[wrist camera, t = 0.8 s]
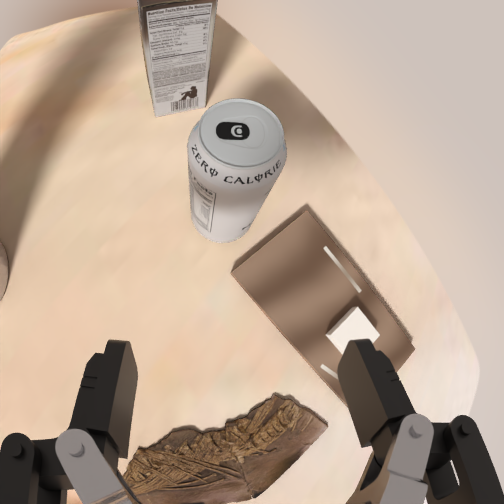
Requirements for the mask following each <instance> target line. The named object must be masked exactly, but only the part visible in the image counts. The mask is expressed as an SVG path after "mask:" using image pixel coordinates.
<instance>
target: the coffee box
mask: <svg viewBox="0 0 504 504" xmlns="http://www.w3.org/2000/svg"><path fill="white" fill-rule="evenodd" d="M217 1H218V0H137V2H138V12H139V22H140V31H141V39H142V47H143V54H144V61H145V67H146V72H147V78H148V83H149V88H150V93H151V98H152V103H153V108H154V113H155V117H160V116H164V115H169V114H174V113H179V112H183V111H189V110H194V109H199V108H204V107H206V100H207V88H208V78H209V69H210V60H211V51H212V42H213V34H214V25H215V17H216V9H217Z"/></svg>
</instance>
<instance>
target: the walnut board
mask: <svg viewBox="0 0 504 504" xmlns="http://www.w3.org/2000/svg"><path fill="white" fill-rule="evenodd" d="M231 275H232V276H233V277H234V278H235V279H236V281H237V282H238V283H239V284H240V285H241V287H242V288H243V289H244V290H245V291H246V292H247V294H248V295H249V296H250V297H251V298H252V300H253V301H254V302H255V303H256V304H257V305H258V307H259V308H260V309H261V310H262V311H263V312H264V314H265V315H266V316H267V317H268V318H269V319H270V321H271V322H272V323H273V324H274V325H275V326H276V327H277V329H278V330H279V331H280V332H281V333H282V334H283V336H284V337H285V338H286V339H287V340H288V341H289V342H290V344H291V345H292V346H293V347H294V348H295V349H296V350H297V352H298V353H299V354H300V355H301V356H302V357H303V358H304V359H305V361H306V362H307V363H308V364H309V365H310V366H311V367H312V368H313V370H314V371H315V372H316V373H317V374H318V375H319V376H320V377H321V379H322V380H323V381H324V382H325V383H326V384H327V385H328V386H329V387H330V389H331V390H332V391H333V392H334V393H335V394H336V395H337V396H338V397H339V398H340V400H341V401H342V402H343V403H344V404H345V405H346V406H347V403H346V400H345V397H344V394H343V391H342V388H341V385H340V383H339V380H338V375H337V368H338V364H339V362H340V360H341V357H342V354H341V352H340V351H339V350H338V349H337V348H336V347H335V345H334V344H333V343H332V342H331V341H330V339H329V338H328V337H327V336H326V334H327V333H328V332H329V331H330V330H331V329H332V328H333V327H334V326H335V325H336V324H337V323H338V321H339V320H340V319H341V318H342V317H343V316H344V315H345V314H346V313H347V312H348V311H349V310H350V309H351V308H352V307H359V309H360V310H361V311H362V313H363V314H364V315H365V316H366V318H367V319H368V320H369V322H370V323H371V324H372V325H373V327H374V328H375V329H376V331H377V332H378V333H379V334H380V336H379V337H378V338H377V339H376V340H375V341H374V343H373V345H374V347H375V349H376V351H379V350H381V351H382V352H383V353H384V354H385V355H386V356H387V357H388V358H389V359H390V361H391V363H392V365H393V367H394V369H395V372H397V371H398V370H399V369H400V368H401V366H402V365H403V364H404V363H405V361H406V360H407V359H408V358H409V356H410V355H411V354H412V353H413V351H414V350H415V348H414V346H413V345H412V344H411V342H410V341H409V339H408V338H407V337H406V335H405V334H404V332H403V331H402V330H401V328H400V327H399V325H398V324H397V323H396V321H395V320H394V319H393V317H392V316H391V315H390V313H389V312H388V311H387V309H386V308H385V306H384V305H383V304H382V302H381V301H380V300H379V299H378V297H377V296H376V295H375V293H374V292H373V291H372V289H371V288H370V287H369V285H368V284H367V283H366V282H365V280H364V279H363V278H362V276H361V275H360V274H359V273H358V271H357V270H356V269H355V268H354V266H353V265H352V264H351V263H350V261H349V260H348V259H347V258H346V256H345V255H344V254H343V253H342V251H341V250H340V249H339V248H338V246H337V245H336V244H335V243H334V242H333V240H332V239H331V238H330V237H329V236H328V234H327V233H326V232H325V231H324V230H323V228H322V227H321V226H320V225H319V224H318V222H317V221H316V220H315V219H314V218H313V217H312V215H311V214H310V213H309V212H308V211H307V210H306V211H305V212H304V213H303V214H302V215H300V216H299V217H298V218H297V219H296V220H294V221H293V222H292V223H291V224H289V225H288V226H287V227H286V228H285V229H283V230H282V231H281V232H280V233H279V234H277V235H276V236H275V237H274V238H273V239H271V240H270V241H269V242H268V243H266V244H265V245H264V246H263V247H262V248H260V249H259V250H258V251H257V252H256V253H254V254H253V255H252V256H251V257H249V258H248V259H247V260H246V261H245V262H243V263H242V264H241V265H240V266H239V267H237V268H236V269H235V270H234V271H232V272H231ZM347 407H348V406H347Z"/></svg>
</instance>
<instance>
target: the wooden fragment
mask: <svg viewBox="0 0 504 504" xmlns="http://www.w3.org/2000/svg"><path fill="white" fill-rule="evenodd" d="M327 428H328V425H327V424H325V423H324V422H323V421H322V420H320V419H319V418H318V417H317V416H316V415H315V414H314V413H313V412H312V411H311V410H310V409H308V408H301V407H299V406H298V405H296V404H295V403H294V402H293V401H292V400H290V399H287V400H283V399H281V398H279V397H278V396H276V395H272V397H271V399H269V400H267V401H265V403H264V404H263V405H262V406H261V407H258V408H255V409H254V410H252V412H250V413H249V414H248V415H247V416H246V417H244V418H242V419H237V420H235V421H233V422H227V423H225V430H219V431H211V432H207V433H204V434H202V433H200V432H197V431H193V430H191V429H187V430H180V431H177V432H172V433H171V434H170V436H169V437H168V438H166V439H163V440H162V441H161V442H160V443H158V444H157V445H156V446H152V447H150V448H148V449H142V448H139V449H138V450H137V452H136V453H135V454H134V455H133V460H132V461H131V462H130V463H129V465H128V467H127V472H125V474H124V475H123V478H124V479H125V480H126V482H127V483H128V485H129V486H130V488H131V489H132V490H133V492H134V493H135V494H136V496H137V497H138V498H139V500H140V501H141V502H142V504H227V503H231V502H241V501H247V500H250V499H252V498H251V494H252V497H253V498H256V497H258V496H259V495H260V494H262V493H263V492H264V491H265V490H266V489H268V488H269V487H270V486H271V485H272V484H273V483H274V482H275V481H276V480H277V479H278V478H279V477H280V476H281V475H282V474H283V473H284V472H285V471H286V470H287V469H288V468H290V467H291V465H292V464H293V463H294V462H295V461H296V460H298V459H299V457H300V456H301V455H302V454H303V453H304V452H305V451H306V450H307V449H308V448H309V446H310V445H312V444H313V442H314V441H316V440H317V439H318V438H319V436H320V435H321V434H322V433H323V432H324V431H325V430H326V429H327Z"/></svg>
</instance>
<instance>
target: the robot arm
mask: <svg viewBox="0 0 504 504" xmlns="http://www.w3.org/2000/svg"><path fill="white" fill-rule="evenodd" d="M7 280H8V259H7V255H6V251H5V249H4V247H3V244H2V243H1V242H0V301H1V299H2V297H3V295H4V292H5V289H6V286H7ZM337 375H338V380H339V383H340V385H341V388H342V391H343V394H344V397H345V400H346V403H347V406H348V408H349V411H350V414H351V417H352V420H353V423H354V426H355V429H356V432H357V435H358V438H359V441H360V444H361V447H362V448H363V447H368V446H372V448H373V452H372V453H371V455H370V458H369V460H368V462H367V465H366V467H365V470H364V472H363V474H362V477H361V479H360V481H359V483H358V486H357V488H356V490H355V492H354V493H353V495H352V496H351V497H350V498H349V500H348V501H347V502H346V504H423V503H424V500H425V497H426V499H427V503H428V504H504V494H503V491H502V488H501V485H500V482H499V479H498V477H497V474H496V471H495V468H494V466H493V463H492V461H491V458H490V456H489V453H488V451H487V448H486V446H485V443H484V441H483V439H482V436H481V434H480V432H479V429H478V427H477V425H476V423H475V422H474V420H473V419H472V418H470V417H468V416H466V415H460V416H457V417H456V418H454V419H453V420H452V421H451V422H450V423H433V422H430V420H429V419H428V418H426V417H425V416H423V415H421V414H417V413H416V412H415V410H414V408H413V406H412V404H411V402H410V399H409V397H408V395H407V393H406V391H405V389H404V387H403V385H402V383H401V381H399V377H398V375H397V373H396V372H395V369H394V367H393V365H392V363H391V361H390V359H389V358H388V357H387V356H386V355H385V354H384V353H383V352H382V351H381V350H379V351H376V349H375V347H374V345H373V343H372V341H371V340H370V339H368V338H366V339H356V340H350V341H349V342H348V344H347V346H346V348H345V351H344V353H343V355H342V357H341V360H340V362H339V364H338V368H337ZM137 380H138V372H137V365H136V362H135V358H134V355H133V351H132V348H131V344H130V342H129V341H121V340H108V342H107V345H106V348H105V351H104V354H102V353H95V354H94V355H93V356H92V358H91V359H90V360H89V361H88V362H87V364H86V368H85V371H84V374H83V378H82V381H81V385H80V386H81V387H80V388H79V392H78V395H77V399H76V403H75V407H74V411H73V415H72V419H71V422H70V425H69V427H68V429H67V430H66V431H64V432H63V433H62V434H61V435H60V436H59V437H57V438H54V439H45V440H30V439H29V438H28V437H27V436H26V435H24V434H21V433H12V434H10V435H8V436H7V437H6V438H5V439H4V440H3V442H2V445H1V450H0V504H66V502H67V490H69V489H75V491H76V493H77V494H78V496H79V498H80V500H81V501H82V503H83V504H142V502H141V501H140V500H139V498H138V497H137V496H136V494H135V493H134V492H133V490H132V489H131V488H130V486H129V485H128V483H127V482H126V480H125V479H124V478H123V476H122V475H121V473H120V472H119V470H118V469H117V467H118V457H119V458H126V459H127V457H128V447H129V438H130V430H131V422H132V415H133V407H134V400H135V394H136V387H137ZM451 460H452V461H453V464H454V467H455V470H456V473H457V476H458V479H459V485H458V483H457V480H456V477H455V474H454V471H453V468H452V465H451V462H450V461H451Z"/></svg>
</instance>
